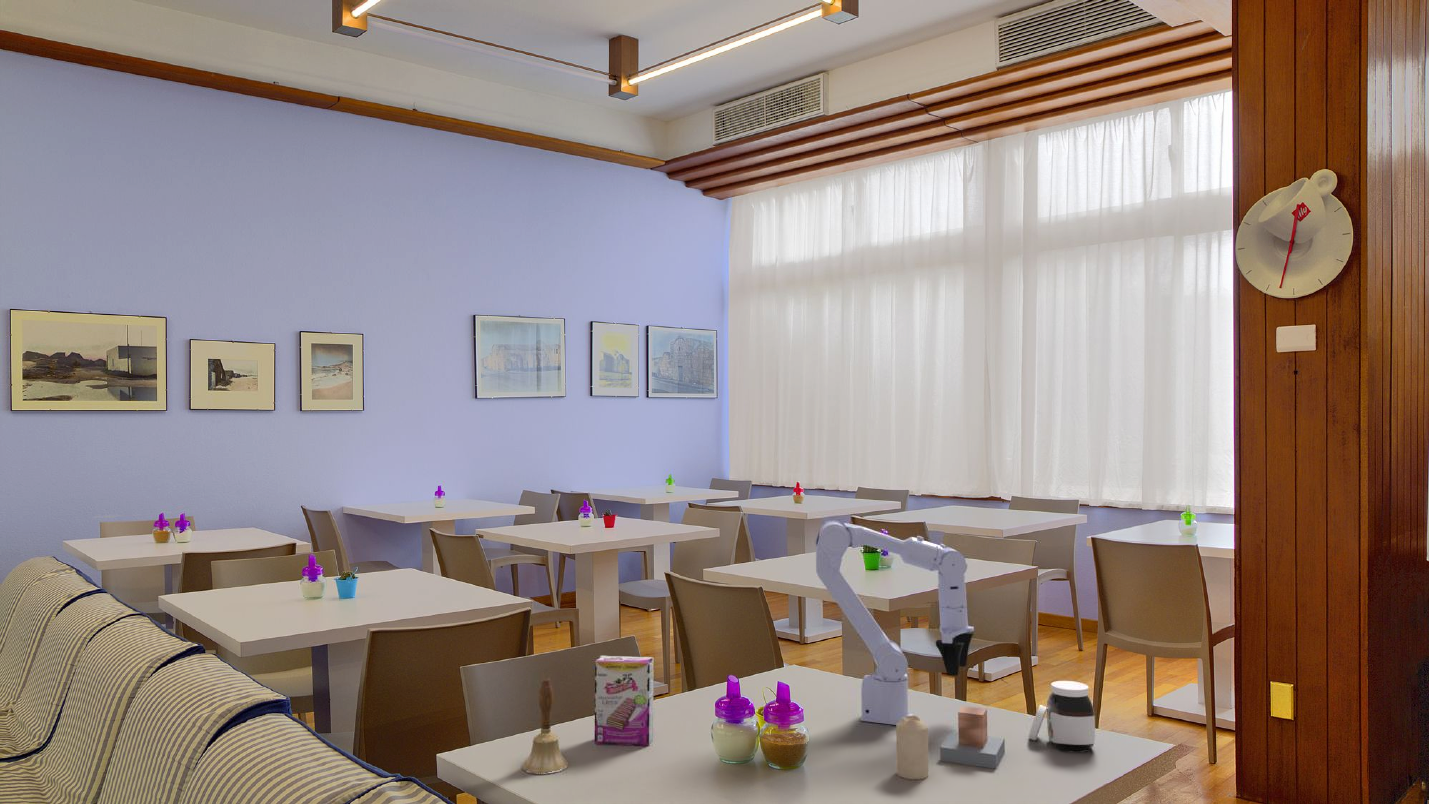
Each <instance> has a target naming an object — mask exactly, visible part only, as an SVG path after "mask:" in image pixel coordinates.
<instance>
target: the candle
mask: <svg viewBox="0 0 1429 804" xmlns="http://www.w3.org/2000/svg"><path fill="white" fill-rule="evenodd" d="M895 727H896V729H895V730H896V731H895V732H896V733H895V734H896V735H895V737H896V773H897V775H898V776H899V777H901V778H903V779H907V780H915V779H917V780H923V779H926V778H928V777H929V726H928V725H927V724H926V723H925V722H924V721H923V720H922V719H921V718H919V717H918V716H917V715H914V716H906V717H905V718H902V719H901V720H900V721H899V722H898V723H897V725H895ZM927 776H928V777H927Z"/></svg>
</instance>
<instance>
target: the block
mask: <svg viewBox="0 0 1429 804" xmlns="http://www.w3.org/2000/svg"><path fill="white" fill-rule="evenodd" d="M957 721H958V724H957V726H958V727H957V729H958V734H959V745H964V746H972V747H979V748H984V746H985V744H986V743H987V741H988V739H987V736H988V708H983V707H977V706H976V707H975V706H967V705H962V706H961V708H960V709H959V711H958V712H957Z"/></svg>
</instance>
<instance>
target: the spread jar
mask: <svg viewBox="0 0 1429 804" xmlns="http://www.w3.org/2000/svg"><path fill="white" fill-rule="evenodd" d="M1050 689H1051V693H1050V694H1049V696H1048V697H1047V701H1046V706H1045V705H1041V704H1039V707H1038V710H1037V711H1036V713H1035V717H1034V719H1033V722H1032V725H1031V728H1030V729H1029V733H1028V739H1031V740H1033V741H1036V739H1037V738H1038V736H1039V733H1040V729H1041V727H1042V724H1043V722H1044V719H1045V717H1046V726H1047V727H1046V729H1047V736H1048V739H1049V742H1050V744H1051V745H1052V747H1054V748H1056V749H1058V750H1061V751H1064V752H1071V751H1073V752H1074V753H1081V751H1083V752H1087V751H1090V750H1091V749H1092V748H1093V747H1094V745H1095V742H1096V741H1095V740H1096V719H1095V718H1096V717H1095V709H1094V707H1093V703H1092V701H1091V699H1090V697H1089V692H1090V690H1089V689H1090V688H1089V685H1087V684H1085V683H1082V682H1078V681H1072V680H1058V681H1054V682H1051V684H1050ZM1073 752H1072V753H1073Z"/></svg>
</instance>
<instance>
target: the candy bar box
mask: <svg viewBox="0 0 1429 804" xmlns="http://www.w3.org/2000/svg"><path fill="white" fill-rule="evenodd" d="M654 663H655V661H654V657H650V656H626V655H625V656H623V655H599V657H598V658H597V659H596V660H595V662H594V744H595V745H612V744H622V745H621V746H645V747H646V746H650V744H651V742H652V741H653V739H654V687H655V686H654V672H655V670H654Z"/></svg>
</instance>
